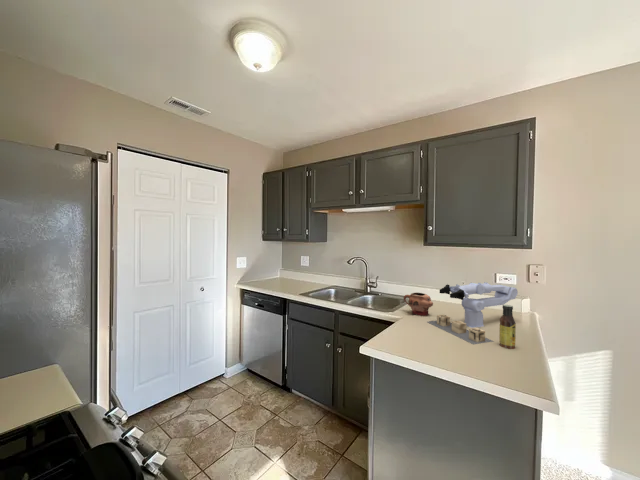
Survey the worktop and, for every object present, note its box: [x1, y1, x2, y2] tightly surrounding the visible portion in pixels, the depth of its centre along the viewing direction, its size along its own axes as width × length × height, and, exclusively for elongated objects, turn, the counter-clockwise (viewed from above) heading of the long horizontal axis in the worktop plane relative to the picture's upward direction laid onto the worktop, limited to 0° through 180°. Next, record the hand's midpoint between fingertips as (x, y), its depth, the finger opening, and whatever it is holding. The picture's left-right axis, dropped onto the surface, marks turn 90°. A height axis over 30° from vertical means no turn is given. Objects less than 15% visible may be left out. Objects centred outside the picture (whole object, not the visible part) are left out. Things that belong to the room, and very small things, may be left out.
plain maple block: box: [451, 320, 467, 334], centre depth 145 cm, size 5×5×5 cm
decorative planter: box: [403, 292, 434, 317], centre depth 178 cm, size 20×12×14 cm, turn 51°
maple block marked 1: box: [436, 313, 451, 326], centre depth 156 cm, size 5×5×5 cm
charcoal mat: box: [426, 320, 494, 345], centre depth 147 cm, size 13×34×1 cm, turn 17°
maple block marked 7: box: [468, 327, 486, 342], centre depth 134 cm, size 5×5×5 cm
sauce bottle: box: [498, 304, 517, 350], centre depth 127 cm, size 6×6×20 cm
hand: (445, 293), depth 149 cm, fingers open, 7 cm apart
